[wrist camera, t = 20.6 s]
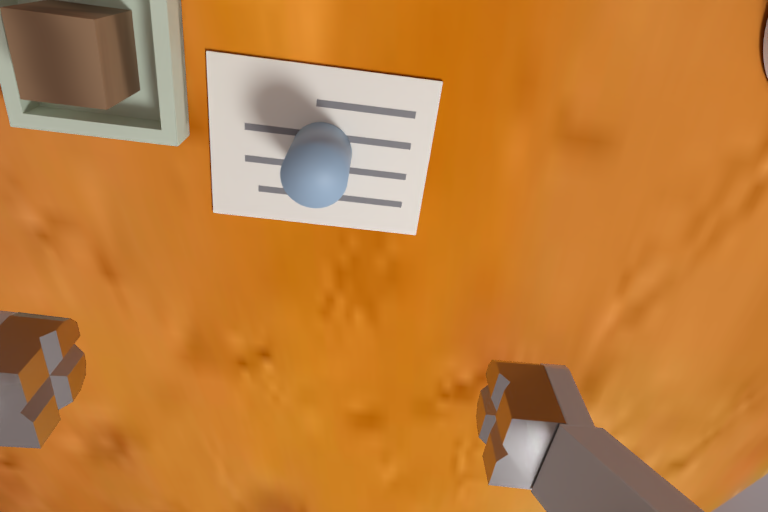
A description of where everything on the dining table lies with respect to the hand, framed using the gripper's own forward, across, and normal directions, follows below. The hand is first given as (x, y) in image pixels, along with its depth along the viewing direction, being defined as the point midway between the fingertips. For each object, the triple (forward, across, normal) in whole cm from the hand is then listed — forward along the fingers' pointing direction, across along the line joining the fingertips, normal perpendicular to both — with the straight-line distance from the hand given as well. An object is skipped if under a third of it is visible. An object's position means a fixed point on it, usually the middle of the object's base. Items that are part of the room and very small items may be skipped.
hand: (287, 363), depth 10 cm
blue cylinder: (+29, +2, +6) cm, 30 cm away
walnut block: (+28, +17, 0) cm, 33 cm away
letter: (+29, +2, +6) cm, 30 cm away
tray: (+29, +17, 0) cm, 34 cm away
